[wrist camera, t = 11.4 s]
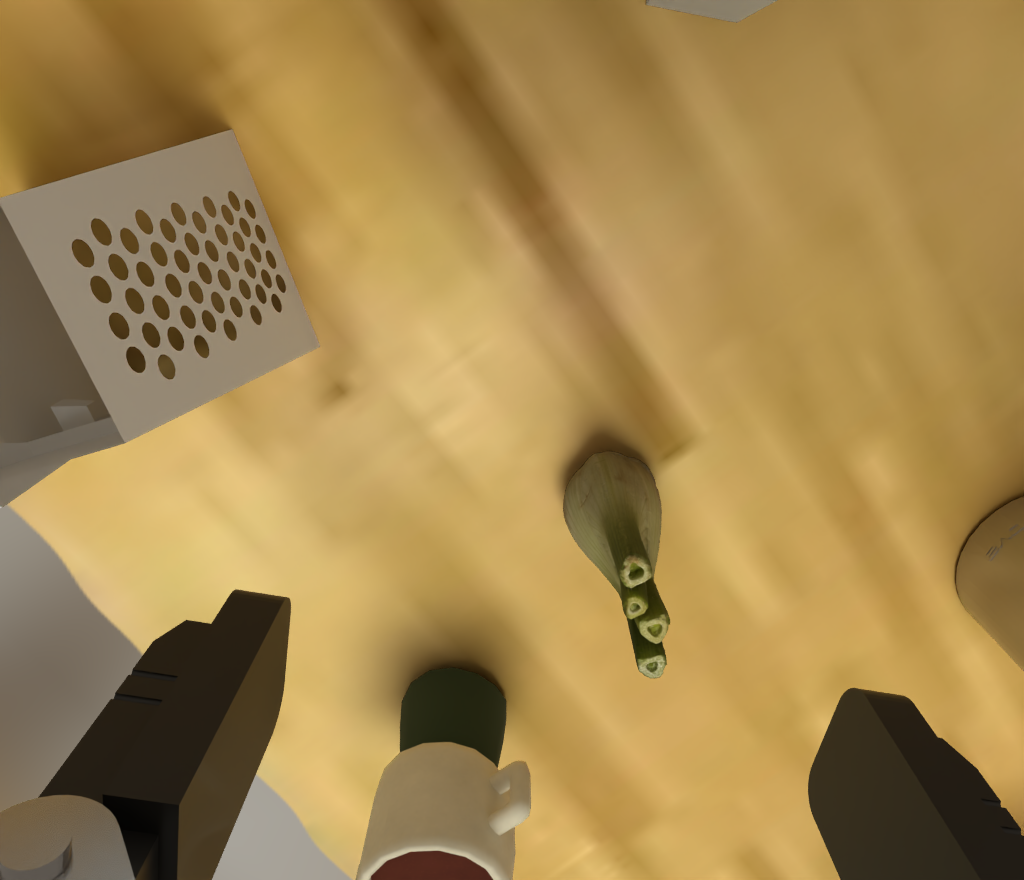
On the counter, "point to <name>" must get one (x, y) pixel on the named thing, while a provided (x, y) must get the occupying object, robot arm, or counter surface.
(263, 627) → the robot arm
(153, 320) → the grater
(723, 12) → the plain gray rectangular block
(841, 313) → the counter surface
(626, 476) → the fennel bulb
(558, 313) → the counter surface
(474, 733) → the character mug
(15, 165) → the counter surface
